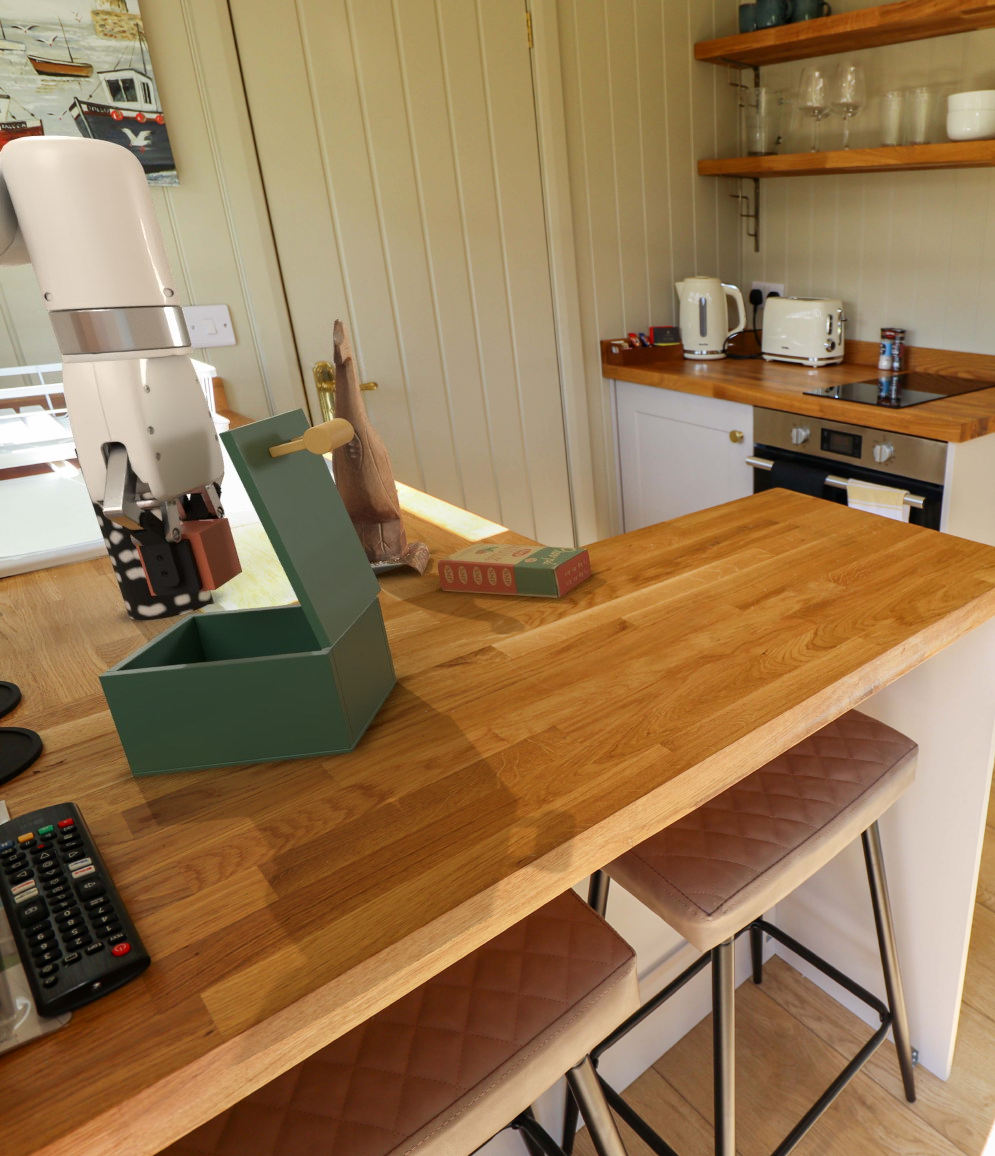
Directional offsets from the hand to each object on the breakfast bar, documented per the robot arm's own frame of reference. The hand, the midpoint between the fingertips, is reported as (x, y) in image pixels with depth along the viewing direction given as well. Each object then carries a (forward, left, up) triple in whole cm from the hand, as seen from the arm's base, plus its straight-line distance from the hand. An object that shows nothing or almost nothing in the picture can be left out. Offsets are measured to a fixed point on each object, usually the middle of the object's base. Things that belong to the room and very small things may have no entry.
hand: (196, 579), depth 64 cm
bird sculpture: (+9, +42, -14) cm, 45 cm away
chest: (+3, -1, -14) cm, 14 cm away
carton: (+25, +27, -14) cm, 39 cm away
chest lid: (+9, -2, +4) cm, 10 cm away
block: (0, 0, 0) cm, 0 cm away
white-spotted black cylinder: (-14, +39, -14) cm, 44 cm away
